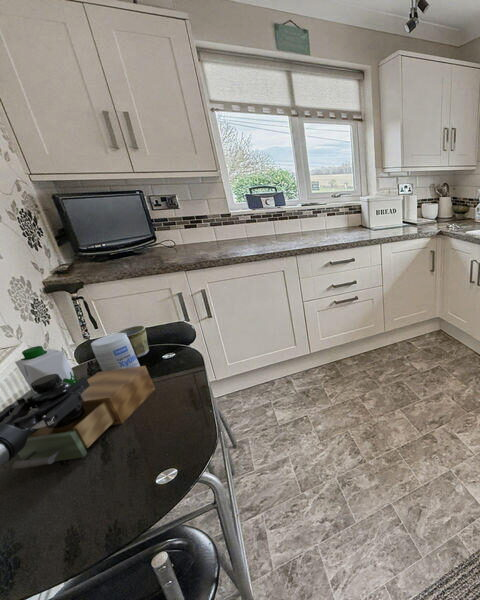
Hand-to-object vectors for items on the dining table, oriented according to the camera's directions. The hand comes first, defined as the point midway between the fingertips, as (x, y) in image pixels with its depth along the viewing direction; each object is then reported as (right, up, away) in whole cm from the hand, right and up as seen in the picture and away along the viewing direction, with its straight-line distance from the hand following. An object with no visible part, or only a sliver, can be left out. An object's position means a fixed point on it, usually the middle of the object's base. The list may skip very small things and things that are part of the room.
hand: (69, 384), depth 83 cm
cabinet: (+1, -10, +13) cm, 16 cm away
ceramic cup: (-19, 0, +46) cm, 50 cm away
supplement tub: (-10, -5, +30) cm, 32 cm away
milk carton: (-15, -11, +15) cm, 24 cm away
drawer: (+3, -15, -2) cm, 15 cm away
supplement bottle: (+2, -8, -2) cm, 9 cm away
